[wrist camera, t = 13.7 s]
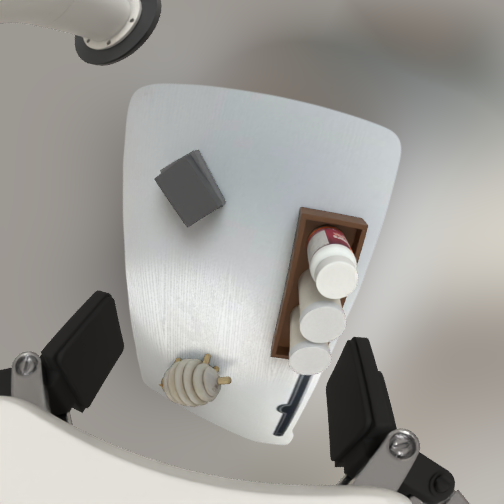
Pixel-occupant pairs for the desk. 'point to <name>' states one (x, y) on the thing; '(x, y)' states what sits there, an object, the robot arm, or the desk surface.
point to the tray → (299, 263)
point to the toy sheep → (192, 382)
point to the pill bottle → (331, 262)
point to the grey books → (190, 188)
